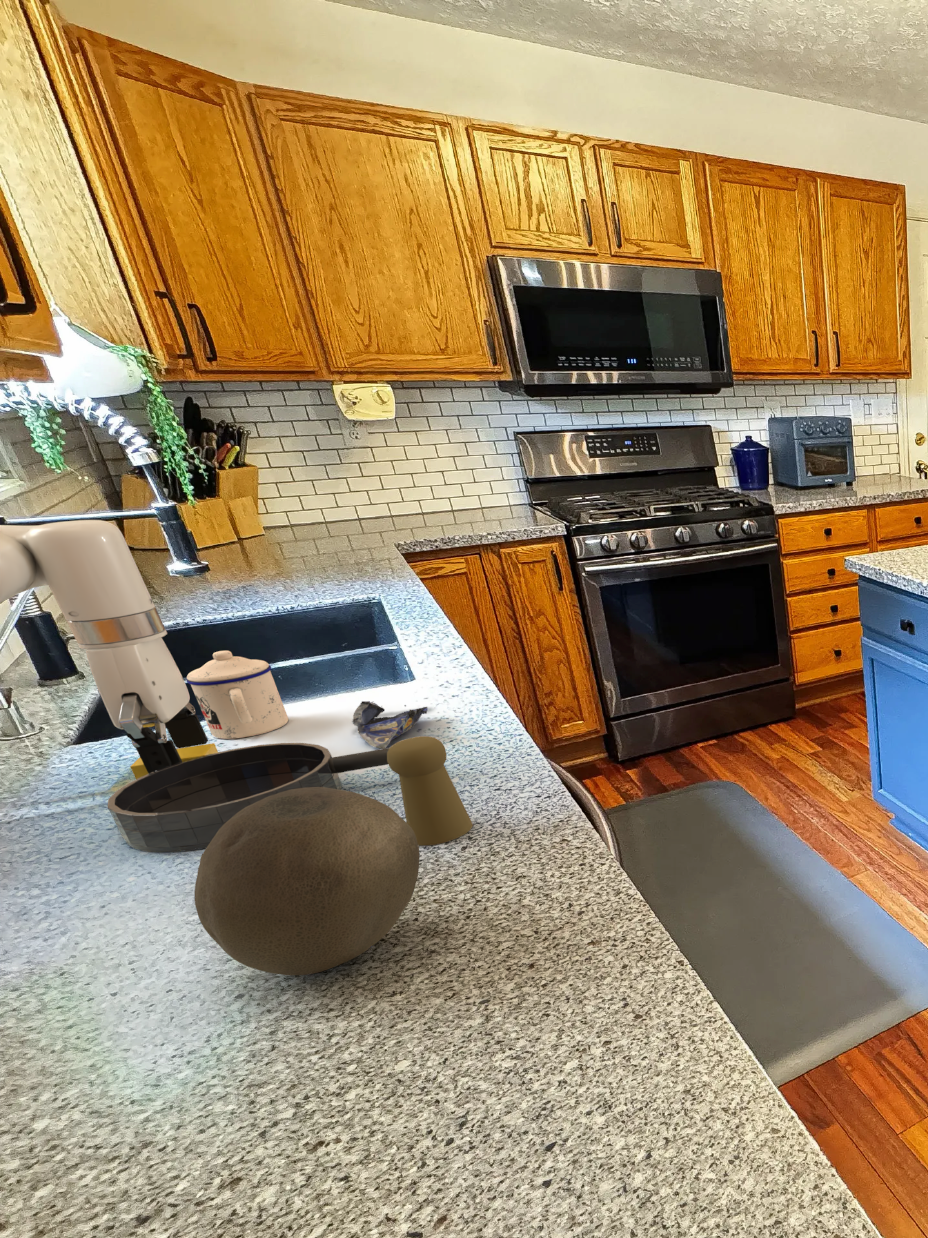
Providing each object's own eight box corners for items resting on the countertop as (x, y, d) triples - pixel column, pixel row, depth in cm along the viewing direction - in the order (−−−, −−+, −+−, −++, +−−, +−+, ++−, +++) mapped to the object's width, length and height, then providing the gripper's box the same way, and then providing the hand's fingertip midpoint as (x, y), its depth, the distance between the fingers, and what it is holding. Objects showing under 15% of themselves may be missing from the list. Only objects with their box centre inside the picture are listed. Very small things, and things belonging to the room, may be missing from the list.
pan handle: (327, 777, 96) (321, 762, 96) (329, 771, 98) (324, 756, 97) (444, 756, 102) (439, 742, 101) (445, 751, 103) (440, 737, 103)
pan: (95, 870, 82) (74, 832, 80) (159, 796, 98) (144, 762, 96) (327, 824, 91) (313, 789, 89) (353, 763, 106) (342, 732, 104)
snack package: (318, 753, 110) (402, 750, 109) (307, 707, 108) (392, 704, 108) (384, 733, 121) (460, 731, 121) (375, 692, 120) (452, 689, 119)
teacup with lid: (209, 727, 118) (177, 651, 113) (288, 712, 124) (260, 639, 119) (211, 751, 110) (176, 670, 105) (295, 734, 116) (266, 656, 111)
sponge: (140, 788, 100) (129, 766, 98) (152, 775, 103) (142, 753, 102) (213, 776, 103) (204, 754, 102) (223, 763, 106) (214, 742, 105)
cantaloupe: (311, 1028, 61) (237, 859, 55) (196, 986, 66) (116, 825, 60) (477, 923, 73) (431, 775, 67) (370, 894, 78) (318, 753, 72)
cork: (464, 813, 93) (438, 725, 89) (479, 831, 89) (452, 740, 85) (403, 831, 89) (372, 740, 85) (415, 851, 85) (383, 757, 81)
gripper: (105, 617, 101) (165, 741, 108) (41, 652, 87) (115, 792, 94) (183, 608, 104) (236, 730, 111) (134, 641, 90) (198, 777, 97)
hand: (181, 758), depth 102 cm, fingers open, 9 cm apart
